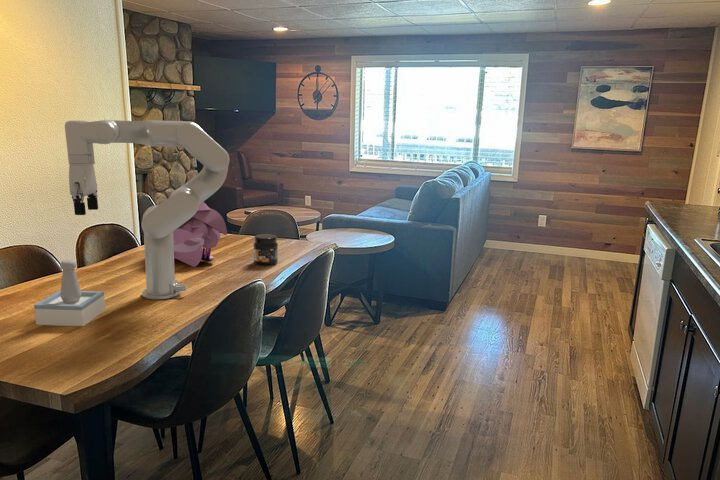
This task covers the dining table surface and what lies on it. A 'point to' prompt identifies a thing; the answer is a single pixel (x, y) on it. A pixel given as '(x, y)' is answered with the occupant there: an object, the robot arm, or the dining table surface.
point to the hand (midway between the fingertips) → (86, 212)
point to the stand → (69, 309)
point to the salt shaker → (69, 283)
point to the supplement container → (265, 249)
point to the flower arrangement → (198, 236)
